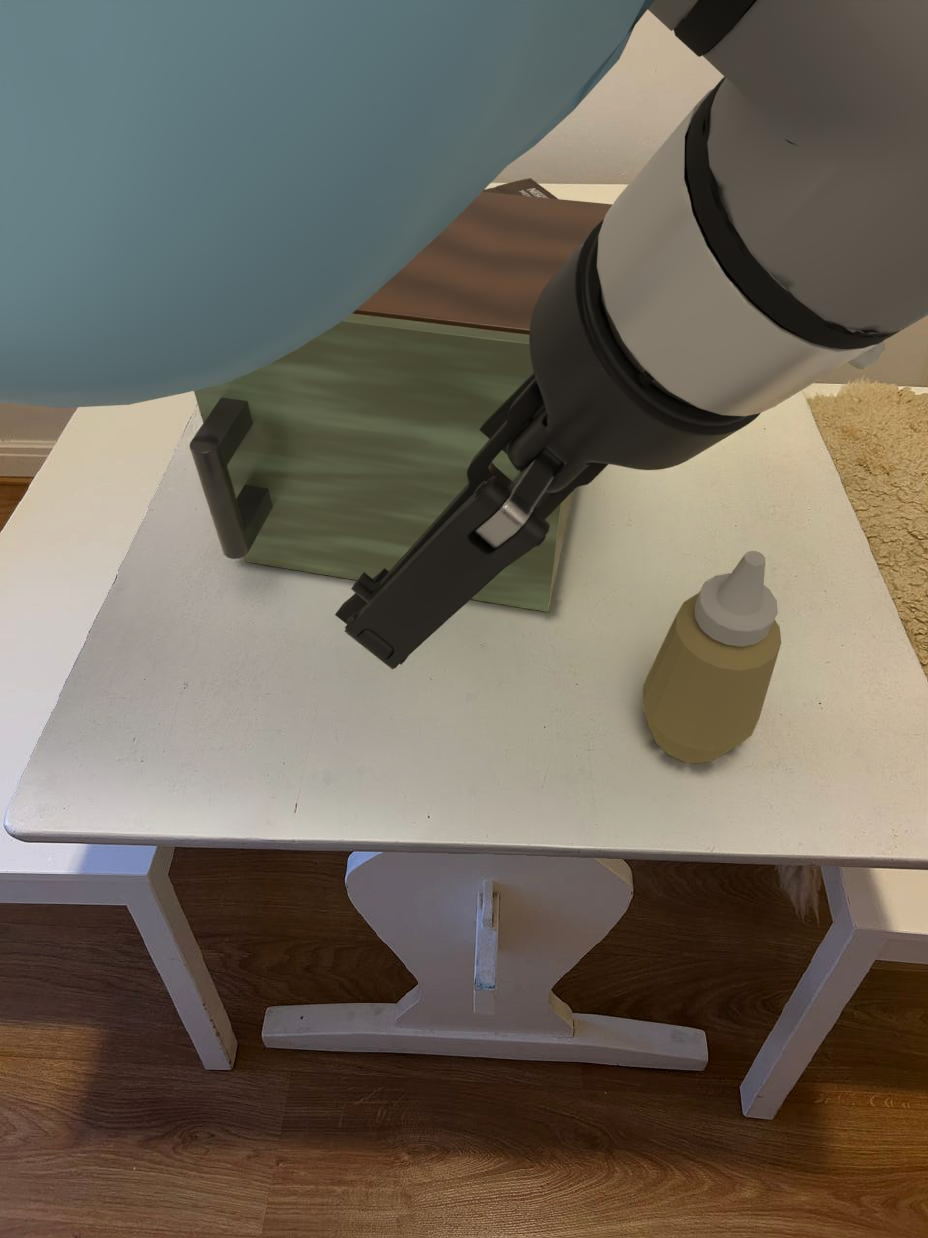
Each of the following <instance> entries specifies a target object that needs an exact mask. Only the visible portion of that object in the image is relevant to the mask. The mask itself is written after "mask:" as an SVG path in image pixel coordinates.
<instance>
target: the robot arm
mask: <svg viewBox="0 0 928 1238" xmlns="http://www.w3.org/2000/svg"><path fill="white" fill-rule="evenodd" d="M647 11H648V12H650V13H651V14H652V15H653V16H654V17H655V18H656V19H657V20H659V22H660V23H662V24H663V25H664V26H665V27H666V28H667V29H668V30H669V31H670V32H673V33H674V36H675V37H676V38H677V39H678V40H679V41H680V42H681V43H683V44H684V45H685V46H686V47H687V48H688V49H689V50H690V51H691V52H693V53H694V54H695V55H696V57H698V58H701V57H703V58H704V59H705V60H706V61H707V62H709V64H710V65H712V66H713V68H715V69H716V70H717V71H718V72H719V73H720V74H721V75H722V76H723V77H722V78H721V79H720V80H719V81H718V82H717V84H716V85H715V86H714V87H713V88H711V89H710V90H708V92H707V93H706V94H705V95H704V96H703V97H702V98H701V99H700V100H699V101H698V102H697V103H696V105H695V106H694V107H693V108H692V109H691V110H690V111H689V113H688V114H687V115H686V116H685V117H684V119H683V120H682V121H681V122H680V123H679V124H678V126H677V127H675V129H674V130H673V131H672V132H671V133H670V134H669V136H668V137H667V139H666V140H664V142H663V143H662V144H661V146H660V147H659V148H658V149H657V150H656V151H655V152H654V154H653V155H652V156H651V157H650V158H649V160H647V162H646V163H645V164H644V165H643V167H642V168H641V169H640V171H638V172H637V174H636V175H635V176H634V177H633V179H632V180H631V181H630V182H629V183H628V184H627V185H626V187H625V188H624V189H623V190H622V191H621V193H620V194H619V195H618V196H617V198H616V199H615V200H614V202H613V203H612V204H613V205H612V206H611V208H610V209H609V210H608V212H607V213H606V215H605V218H604V220H602V221H601V222H600V223H599V224H598V225H597V226H596V227H595V228H594V229H593V230H592V231H591V233H590V234H589V235H588V236H587V237H586V238H585V240H584V241H583V242H582V243H581V244H580V245H579V247H578V248H577V249H576V250H575V251H574V253H573V254H572V255H571V256H570V257H569V258H568V260H567V261H566V262H565V263H564V264H563V265H562V267H561V268H560V269H559V270H558V271H557V273H556V274H555V275H554V276H553V277H552V278H551V280H550V281H549V282H548V283H547V285H546V286H545V287H544V289H543V291H542V292H541V294H540V296H539V298H538V300H537V302H536V305H535V308H534V311H533V314H532V319H531V324H530V333H529V346H530V356H531V362H532V367H533V371H534V373H533V374H532V375H531V376H530V377H529V378H528V379H527V380H526V381H525V382H524V383H523V384H522V385H521V386H520V387H519V388H518V389H517V390H516V391H515V392H514V393H513V394H512V395H511V396H510V397H509V398H508V399H507V400H506V401H505V402H504V403H503V404H502V405H501V406H500V407H499V408H498V409H497V410H496V411H495V412H494V413H493V414H492V415H491V416H490V417H489V418H488V419H487V420H486V422H485V423H484V424H483V425H482V427H481V428H480V429H479V430H480V431H481V432H482V433H483V434H485V435H486V436H487V437H488V438H489V441H488V442H487V443H486V444H485V445H484V446H483V447H482V448H481V450H480V451H479V452H478V453H477V454H476V455H475V456H474V458H473V460H472V461H471V463H470V465H469V467H468V469H467V478H468V482H469V483H468V484H467V485H466V486H465V487H464V489H463V490H462V491H461V492H460V493H459V494H458V495H457V496H456V497H455V499H454V500H453V501H452V502H451V503H450V504H449V505H448V506H447V508H446V509H445V510H444V511H443V512H442V513H441V514H440V515H439V516H438V518H437V519H436V520H435V521H434V522H433V523H432V524H431V525H430V526H429V528H428V529H427V530H426V531H425V532H424V533H423V534H422V535H421V536H420V538H419V539H418V540H417V541H416V542H415V543H414V544H413V545H412V547H411V548H410V549H409V550H408V551H407V552H406V553H405V554H404V555H403V557H402V558H401V559H400V560H399V561H398V562H397V563H396V564H395V565H394V567H393V568H392V569H391V570H390V571H388V570H387V569H385V568H384V569H383V570H382V571H381V572H380V573H378V574H377V575H376V576H375V577H374V578H373V579H372V578H371V577H370V576H368V575H367V574H366V573H365V572H364V573H363V574H362V575H361V576H360V577H359V579H358V580H355V582H354V584H353V585H352V586H351V588H350V590H351V591H353V592H354V594H353V595H351V596H350V597H349V598H348V599H346V600H345V601H344V602H343V603H342V604H341V605H340V607H339V608H338V609H337V611H336V612H335V614H334V616H336V617H337V618H338V619H339V620H341V621H342V622H343V623H344V624H346V625H345V626H344V633H345V634H347V635H348V636H349V637H351V638H352V639H353V640H354V641H355V642H357V643H358V644H359V645H360V646H361V647H363V648H364V649H366V651H368V652H369V653H370V654H372V655H373V656H375V658H377V659H378V660H379V661H381V662H382V663H383V664H384V665H385V666H387V667H388V668H389V669H391V670H394V669H396V668H397V667H398V666H399V665H403V664H404V663H405V662H406V660H407V659H408V657H409V656H410V655H411V654H413V653H414V651H416V650H417V649H418V648H419V647H420V646H421V645H422V644H424V642H425V641H427V640H428V639H429V638H430V637H431V636H432V635H433V634H434V633H435V632H436V631H438V629H440V628H441V627H442V626H443V625H445V623H446V622H448V621H449V620H450V619H451V618H452V617H453V616H454V615H455V614H456V613H458V611H459V610H461V609H462V608H463V607H464V606H465V605H466V604H467V603H468V602H469V601H470V600H472V599H471V598H473V597H474V596H475V595H476V594H477V593H478V592H479V591H480V590H481V589H482V588H484V587H485V586H486V585H487V584H488V583H489V582H490V581H491V580H492V579H493V578H495V577H496V576H497V575H498V574H499V573H500V572H501V571H502V570H503V569H504V568H506V567H507V566H509V565H510V564H512V563H513V562H514V561H516V560H517V559H519V558H520V557H522V556H523V555H524V554H526V553H527V552H529V551H530V550H531V549H532V548H534V547H535V546H536V547H538V546H539V545H540V544H541V543H542V542H543V541H544V540H545V538H546V534H547V533H548V532H549V528H550V524H549V523H548V522H547V521H546V520H545V519H546V518H547V517H548V516H549V515H550V514H551V513H552V512H553V511H554V510H555V509H556V508H557V507H558V506H559V505H560V504H561V503H562V502H563V501H564V500H565V499H566V498H567V497H568V496H569V495H570V494H571V493H572V491H573V490H574V491H575V490H576V489H577V488H578V487H583V486H587V485H589V484H590V483H592V482H593V481H594V480H595V479H596V478H597V477H598V476H599V475H600V474H601V473H602V472H603V471H604V470H605V469H606V468H607V467H608V466H609V465H612V466H618V467H623V468H627V469H633V470H640V471H659V470H665V469H670V468H674V467H676V466H677V467H678V466H680V465H682V464H683V463H686V462H687V461H689V460H691V459H693V458H695V457H696V456H698V455H699V454H701V453H703V452H705V451H707V450H709V449H710V448H711V447H713V446H715V445H716V444H718V443H720V442H721V441H723V440H725V439H726V438H728V437H730V436H732V435H733V434H735V433H737V432H738V431H740V430H741V429H743V428H745V427H746V426H748V425H749V424H750V423H752V422H753V421H755V420H756V419H757V418H758V417H759V416H760V415H761V414H762V413H763V412H765V411H768V410H770V409H772V408H775V407H777V406H778V405H780V404H781V403H783V402H784V401H786V400H789V398H791V397H793V396H795V395H797V394H798V393H800V392H801V391H804V389H806V388H808V387H810V386H811V385H813V384H815V383H816V382H818V381H819V380H821V379H822V378H824V377H825V376H827V375H829V374H831V373H832V372H834V371H835V370H837V369H839V368H841V367H842V366H844V365H846V364H847V363H848V364H849V365H851V366H852V367H853V368H856V369H857V370H865V369H867V368H869V367H871V366H874V365H876V364H877V363H878V361H879V360H880V358H881V357H882V355H883V353H884V351H885V350H886V343H885V341H886V340H888V339H889V338H891V337H893V336H895V335H897V334H898V333H899V332H901V331H904V330H905V329H907V328H909V327H910V326H912V325H913V324H915V323H917V322H918V321H920V320H922V319H924V318H926V317H928V0H0V403H5V404H14V405H25V406H32V407H33V406H34V407H35V406H36V407H44V408H53V409H54V408H55V409H65V408H69V409H70V408H91V407H114V406H130V405H134V404H139V403H144V402H148V401H154V400H158V399H162V398H167V397H172V396H177V395H182V394H185V393H190V392H191V393H192V392H194V391H196V390H200V389H204V388H209V387H213V386H217V385H222V384H225V383H228V382H230V381H232V380H235V379H237V378H239V377H242V376H244V375H246V374H249V373H251V372H253V371H255V370H258V369H260V368H262V367H265V366H267V365H269V364H271V363H272V362H274V361H276V360H278V359H280V358H282V357H284V356H285V355H287V354H289V353H291V352H293V351H295V350H297V349H298V348H300V347H302V346H303V345H305V344H306V343H308V342H309V341H311V340H312V339H314V338H315V337H317V336H319V335H321V334H322V333H324V332H326V331H327V330H329V329H331V328H333V327H334V326H336V325H337V324H338V323H340V322H341V321H343V320H344V319H345V318H347V317H348V316H350V315H351V314H352V313H353V312H354V311H355V310H357V309H358V308H359V307H360V306H361V305H362V304H363V303H364V302H366V301H367V300H368V299H369V298H370V297H371V296H372V295H373V294H375V293H376V292H377V291H378V290H379V289H380V288H381V287H382V286H384V285H385V284H386V283H387V282H388V281H389V280H390V279H391V278H393V277H394V276H395V275H396V274H397V273H398V272H399V271H400V270H401V269H402V268H404V267H405V266H406V265H407V264H408V263H409V262H410V261H411V260H412V259H413V258H414V257H415V256H417V255H418V254H419V253H420V252H421V251H422V250H423V249H424V248H425V247H426V246H427V245H428V244H430V243H431V242H432V241H433V240H434V239H435V238H436V237H437V236H438V235H439V234H440V233H441V232H443V231H444V230H445V229H446V228H447V227H448V226H449V225H450V224H451V223H452V222H453V221H454V220H455V219H456V218H457V217H458V216H459V215H460V214H461V213H462V212H463V211H464V210H465V209H466V208H467V207H468V206H469V205H470V204H471V203H472V202H473V201H474V200H475V199H476V198H477V197H478V196H479V195H480V193H481V192H482V191H483V190H485V189H487V187H488V186H489V185H490V184H491V183H493V181H494V180H495V179H496V178H497V177H498V176H499V175H500V174H501V173H502V172H503V171H504V170H505V169H506V168H507V167H508V166H509V165H511V164H512V163H513V162H515V161H517V160H518V159H519V158H520V157H521V156H523V155H524V154H526V153H527V152H529V150H531V149H533V148H534V147H535V146H536V145H538V144H539V143H540V142H541V141H543V139H544V138H545V137H546V136H547V135H549V134H550V133H551V132H552V131H553V130H554V129H556V127H557V126H558V125H560V124H561V123H562V122H563V121H564V120H565V119H566V118H567V117H569V115H570V114H572V113H573V112H574V111H575V109H576V108H577V107H578V106H579V105H580V104H581V103H582V102H583V101H584V99H586V97H588V95H589V94H590V93H591V92H592V91H593V89H595V87H596V86H597V85H598V84H599V83H600V82H601V81H602V79H603V78H604V77H605V76H606V75H607V74H608V73H609V71H611V69H612V68H613V67H614V66H615V65H616V64H617V63H618V61H619V60H620V59H621V56H622V55H623V53H624V52H625V49H626V46H627V44H628V42H629V40H630V38H631V36H632V33H633V31H634V28H635V26H636V25H637V23H638V22H639V21H640V20H641V18H643V16H644V14H646V13H647ZM502 450H503V451H504V452H505V453H506V454H507V456H508V458H509V460H510V462H511V463H512V464H513V466H514V467H515V468H516V469H517V470H518V471H520V472H519V474H518V475H517V476H516V478H515V479H514V480H513V481H511V480H510V479H509V478H508V477H507V476H506V475H505V474H504V473H502V472H501V471H500V470H499V469H498V468H497V467H496V466H495V465H494V464H493V462H492V461H493V459H494V458H495V457H496V456H497V455H498V454H499V453H500V452H501V451H502ZM574 491H573V492H574ZM544 492H545V493H544Z"/></svg>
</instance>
